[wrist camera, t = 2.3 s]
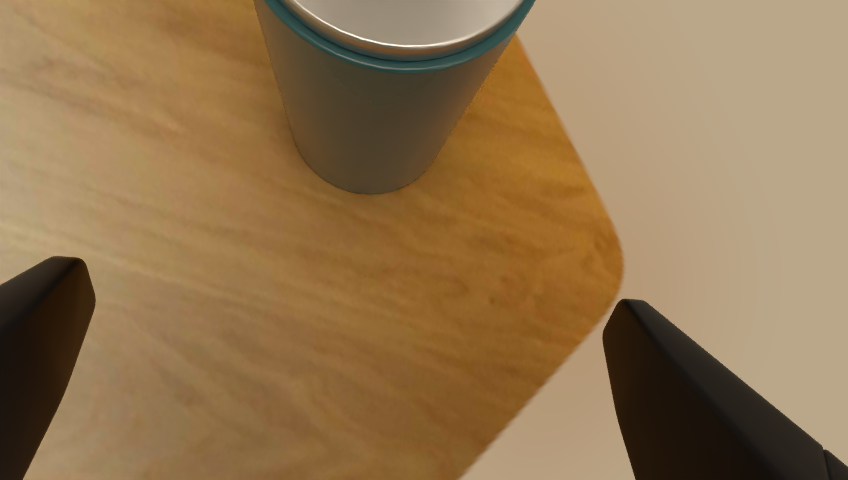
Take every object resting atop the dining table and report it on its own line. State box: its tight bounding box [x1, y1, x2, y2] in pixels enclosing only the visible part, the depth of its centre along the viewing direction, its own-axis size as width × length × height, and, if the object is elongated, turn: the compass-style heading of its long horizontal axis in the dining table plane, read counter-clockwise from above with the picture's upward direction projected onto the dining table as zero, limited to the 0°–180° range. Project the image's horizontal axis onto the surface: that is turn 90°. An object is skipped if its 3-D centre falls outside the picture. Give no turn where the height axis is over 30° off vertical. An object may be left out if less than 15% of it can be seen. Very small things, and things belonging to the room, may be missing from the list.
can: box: [253, 0, 535, 194], centre depth 17 cm, size 7×7×13 cm
